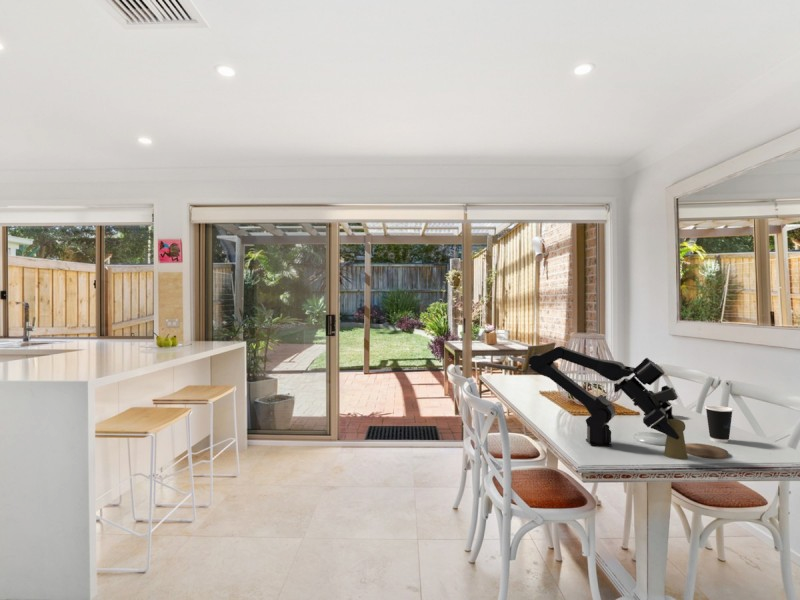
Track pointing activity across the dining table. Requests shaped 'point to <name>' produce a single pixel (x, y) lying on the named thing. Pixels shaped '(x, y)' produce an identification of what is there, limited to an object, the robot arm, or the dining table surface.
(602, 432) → the robot arm
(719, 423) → the dixie cup
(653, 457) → the dining table surface
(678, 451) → the olive chess pawn
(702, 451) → the walnut trivet
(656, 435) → the grey round disc
